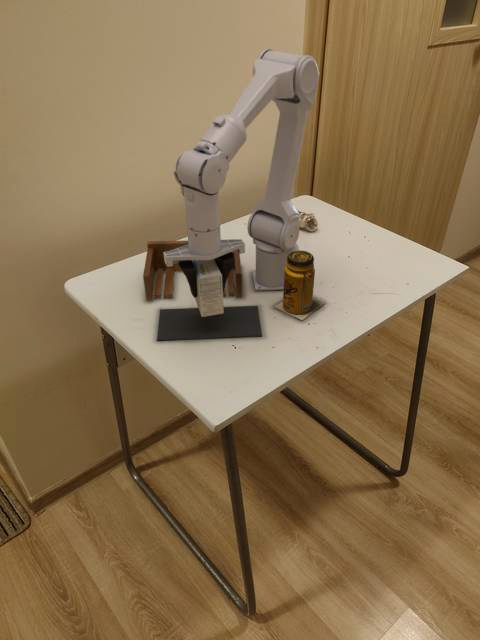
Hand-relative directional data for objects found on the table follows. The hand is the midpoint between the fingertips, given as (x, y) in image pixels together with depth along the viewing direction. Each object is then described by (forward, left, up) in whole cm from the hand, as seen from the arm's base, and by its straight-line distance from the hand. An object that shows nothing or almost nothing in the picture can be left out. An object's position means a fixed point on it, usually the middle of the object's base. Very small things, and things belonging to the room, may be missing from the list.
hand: (207, 291), depth 94 cm
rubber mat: (0, 0, -7) cm, 7 cm away
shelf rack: (+3, -15, -8) cm, 17 cm away
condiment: (-19, -5, -8) cm, 21 cm away
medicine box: (0, 0, -3) cm, 3 cm away
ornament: (-26, -42, -8) cm, 50 cm away
